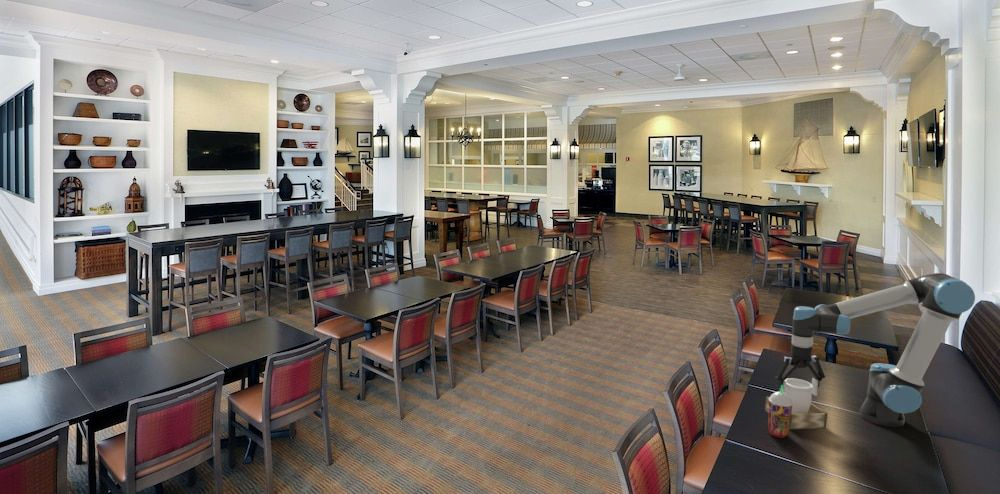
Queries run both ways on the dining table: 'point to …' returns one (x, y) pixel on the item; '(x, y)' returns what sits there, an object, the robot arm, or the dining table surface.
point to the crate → (806, 418)
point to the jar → (799, 395)
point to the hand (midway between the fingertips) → (798, 395)
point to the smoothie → (779, 413)
